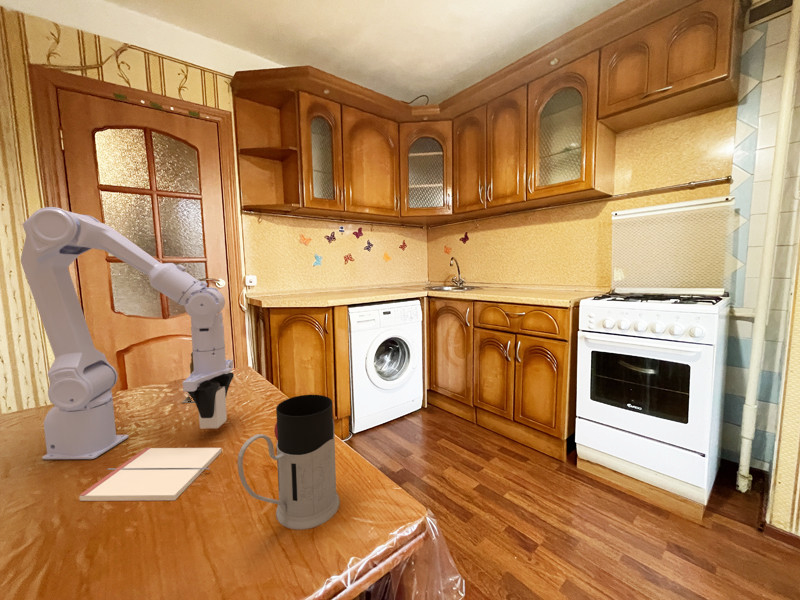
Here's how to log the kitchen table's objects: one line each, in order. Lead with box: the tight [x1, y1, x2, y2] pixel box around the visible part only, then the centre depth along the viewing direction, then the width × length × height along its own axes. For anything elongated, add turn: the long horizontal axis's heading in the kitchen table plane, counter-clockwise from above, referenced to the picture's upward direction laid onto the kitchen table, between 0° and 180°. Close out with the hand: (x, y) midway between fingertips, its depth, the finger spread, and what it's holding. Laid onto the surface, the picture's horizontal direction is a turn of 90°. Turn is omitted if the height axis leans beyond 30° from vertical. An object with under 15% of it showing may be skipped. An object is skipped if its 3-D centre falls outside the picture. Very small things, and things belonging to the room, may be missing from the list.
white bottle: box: [198, 381, 228, 429], centre depth 69 cm, size 4×4×9 cm
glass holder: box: [237, 394, 341, 531], centre depth 45 cm, size 9×14×15 cm, turn 146°
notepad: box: [78, 447, 223, 502], centre depth 56 cm, size 17×13×1 cm
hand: (212, 412), depth 69 cm, fingers closed on white bottle, 4 cm apart
